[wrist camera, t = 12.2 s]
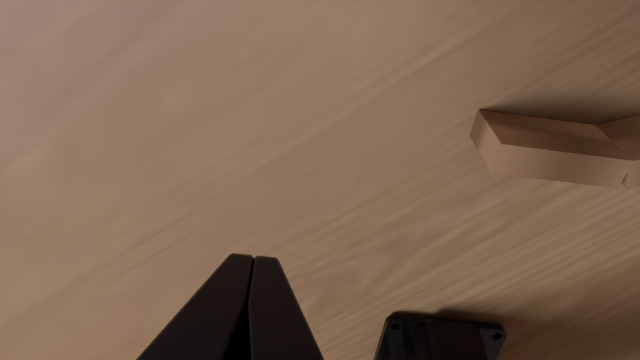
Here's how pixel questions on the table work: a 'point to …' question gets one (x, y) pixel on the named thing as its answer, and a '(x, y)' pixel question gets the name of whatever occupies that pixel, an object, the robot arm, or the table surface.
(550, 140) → the wooden u-shaped frame
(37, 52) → the table surface
